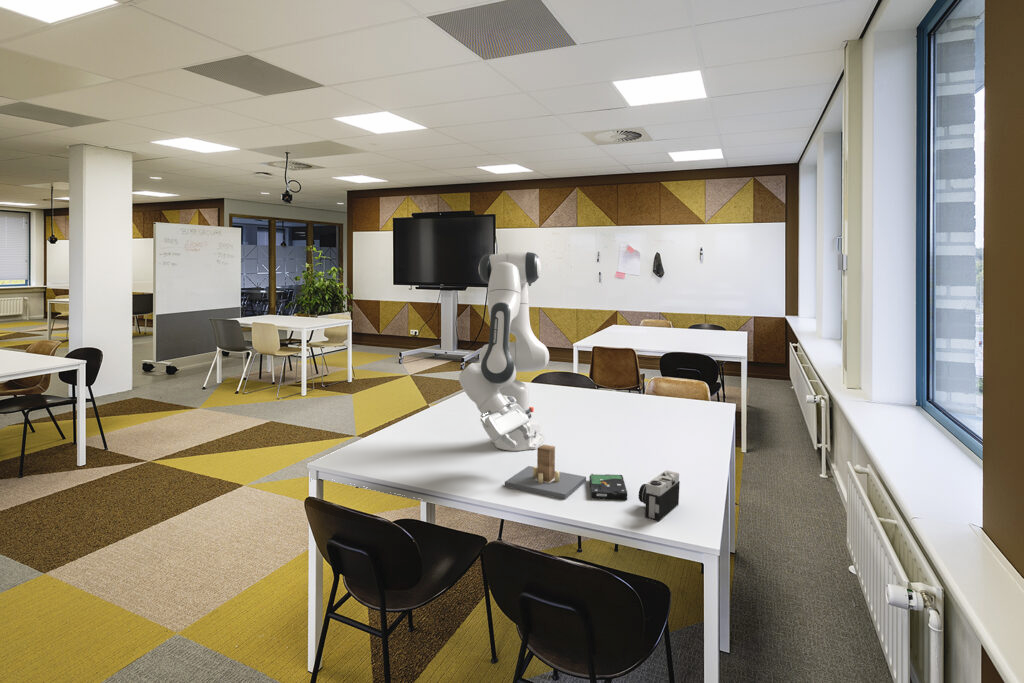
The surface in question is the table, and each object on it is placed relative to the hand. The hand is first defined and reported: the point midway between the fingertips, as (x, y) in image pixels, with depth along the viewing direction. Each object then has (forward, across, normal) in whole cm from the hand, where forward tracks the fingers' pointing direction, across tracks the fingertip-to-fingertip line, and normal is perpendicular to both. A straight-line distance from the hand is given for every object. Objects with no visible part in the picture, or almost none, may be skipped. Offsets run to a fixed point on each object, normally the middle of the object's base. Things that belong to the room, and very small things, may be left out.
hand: (522, 442), depth 174 cm
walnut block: (+13, -1, +1) cm, 13 cm away
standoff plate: (+14, -1, +2) cm, 14 cm away
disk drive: (+27, +4, -10) cm, 30 cm away
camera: (+39, -3, -22) cm, 45 cm away
